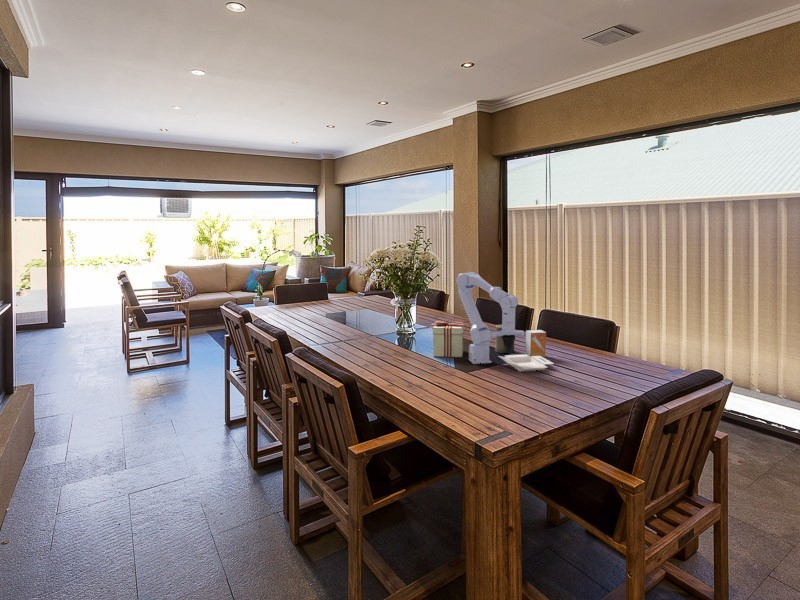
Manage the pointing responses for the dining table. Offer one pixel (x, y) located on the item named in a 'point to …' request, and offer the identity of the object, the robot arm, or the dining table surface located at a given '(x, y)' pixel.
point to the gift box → (448, 339)
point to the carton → (525, 363)
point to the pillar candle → (501, 342)
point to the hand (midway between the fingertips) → (507, 351)
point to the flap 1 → (508, 360)
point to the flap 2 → (542, 360)
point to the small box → (535, 343)
